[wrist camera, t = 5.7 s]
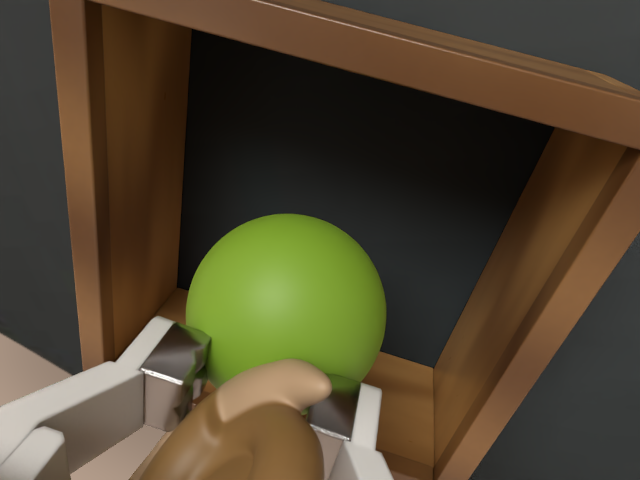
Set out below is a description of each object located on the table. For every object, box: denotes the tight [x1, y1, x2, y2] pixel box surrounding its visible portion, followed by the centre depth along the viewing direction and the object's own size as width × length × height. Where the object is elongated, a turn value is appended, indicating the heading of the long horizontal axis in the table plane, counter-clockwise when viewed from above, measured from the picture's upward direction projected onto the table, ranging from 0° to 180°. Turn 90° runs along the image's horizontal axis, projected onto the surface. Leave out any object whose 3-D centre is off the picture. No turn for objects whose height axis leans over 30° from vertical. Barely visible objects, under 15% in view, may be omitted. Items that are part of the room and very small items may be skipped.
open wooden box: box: [49, 0, 640, 480], centre depth 17 cm, size 16×16×6 cm
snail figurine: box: [129, 214, 386, 480], centre depth 10 cm, size 5×6×12 cm
